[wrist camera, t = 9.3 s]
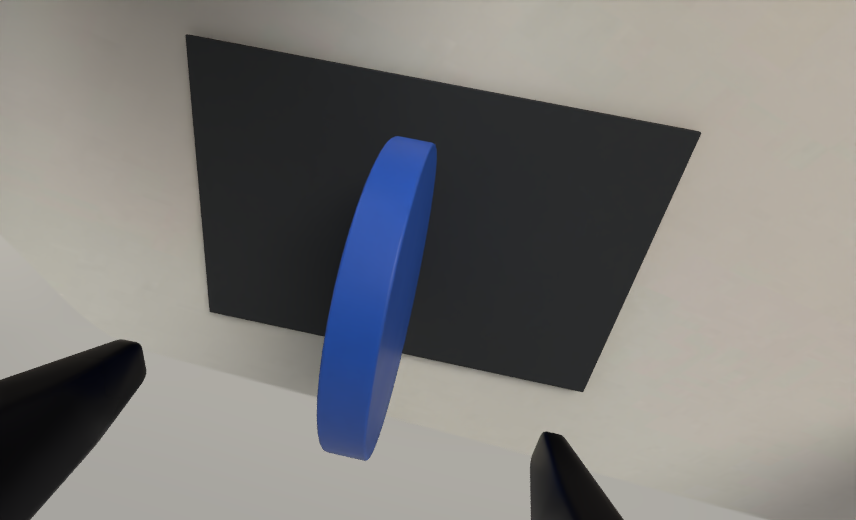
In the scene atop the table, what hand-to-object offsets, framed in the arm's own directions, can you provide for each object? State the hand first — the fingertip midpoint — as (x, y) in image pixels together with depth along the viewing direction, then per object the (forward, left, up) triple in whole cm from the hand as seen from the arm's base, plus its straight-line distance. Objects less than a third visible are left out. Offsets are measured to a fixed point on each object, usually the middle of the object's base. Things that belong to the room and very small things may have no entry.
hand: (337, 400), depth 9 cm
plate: (0, 0, -10) cm, 10 cm away
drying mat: (0, 0, -10) cm, 10 cm away
